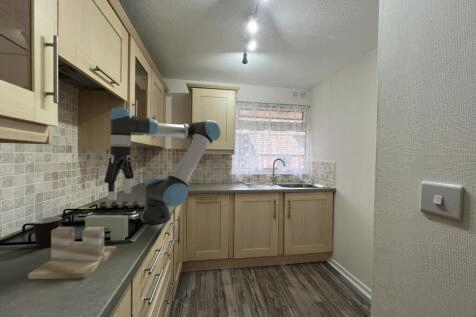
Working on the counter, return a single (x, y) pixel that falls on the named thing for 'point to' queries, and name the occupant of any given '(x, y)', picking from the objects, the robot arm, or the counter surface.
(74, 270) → the slotted base
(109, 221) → the sage slotted plate
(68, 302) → the counter surface
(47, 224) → the coffee mug
